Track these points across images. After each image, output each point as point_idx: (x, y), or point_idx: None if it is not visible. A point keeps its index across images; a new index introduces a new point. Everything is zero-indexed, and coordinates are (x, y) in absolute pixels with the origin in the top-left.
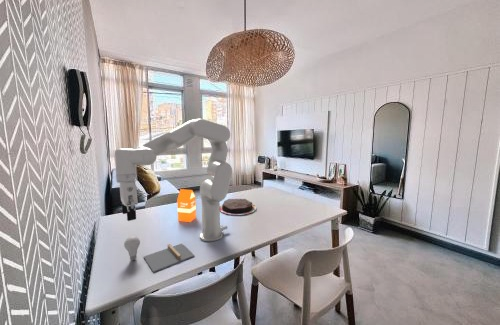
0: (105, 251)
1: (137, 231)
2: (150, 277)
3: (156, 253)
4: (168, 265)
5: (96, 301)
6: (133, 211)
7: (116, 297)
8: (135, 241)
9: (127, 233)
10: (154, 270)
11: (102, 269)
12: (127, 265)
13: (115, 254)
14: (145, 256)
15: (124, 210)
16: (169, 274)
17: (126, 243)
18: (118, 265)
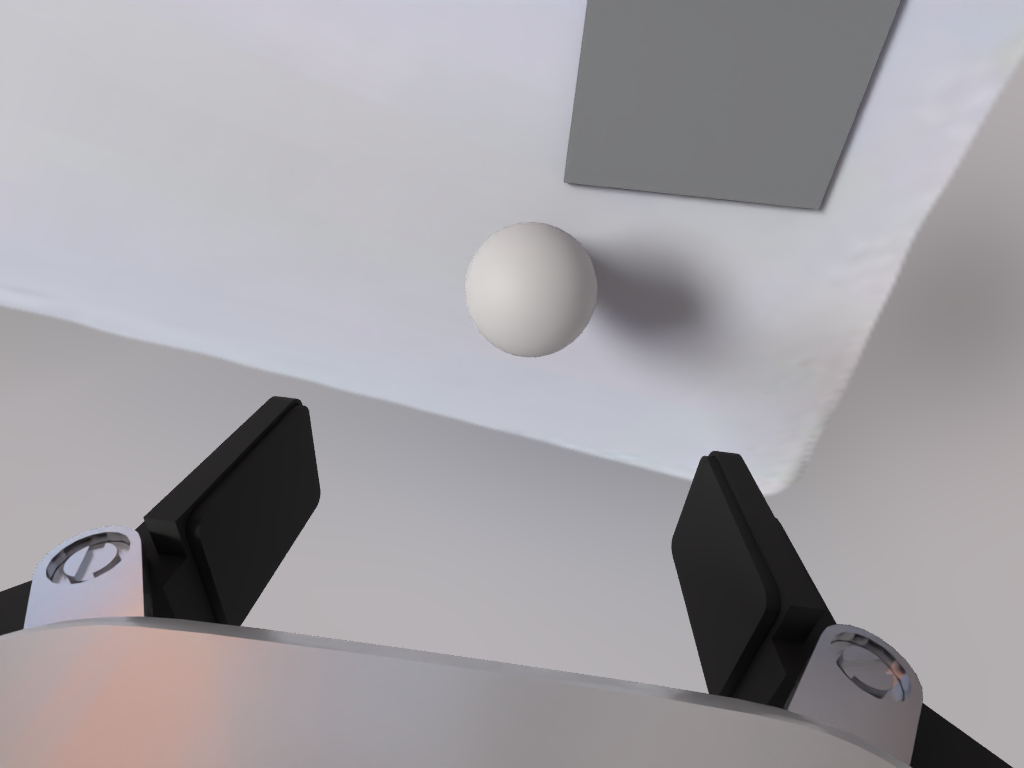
0: (296, 343)
1: (17, 33)
2: (838, 242)
3: (602, 73)
4: (870, 75)
5: None
6: (837, 644)
7: (812, 422)
8: (588, 290)
9: (38, 133)
10: (815, 197)
11: (506, 404)
12: None
13: (376, 311)
14: (576, 171)
15: (287, 524)
16: (954, 122)
17: (551, 353)
18: None
